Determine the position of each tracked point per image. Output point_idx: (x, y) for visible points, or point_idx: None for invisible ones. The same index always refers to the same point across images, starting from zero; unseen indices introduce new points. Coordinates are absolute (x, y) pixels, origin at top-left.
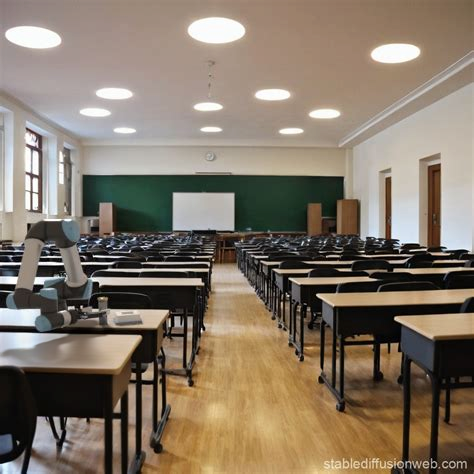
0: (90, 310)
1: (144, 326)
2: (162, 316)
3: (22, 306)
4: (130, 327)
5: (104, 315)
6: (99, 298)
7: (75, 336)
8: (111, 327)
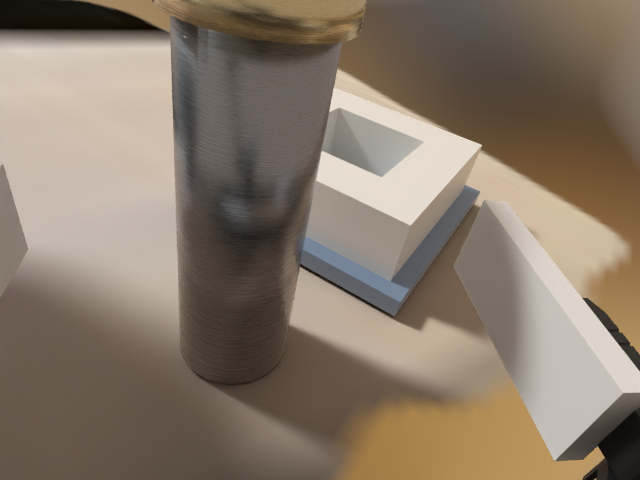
0: (4, 252)
1: (596, 260)
2: (393, 103)
3: None
4: None
5: (297, 269)
6: None
7: None
8: (455, 399)
